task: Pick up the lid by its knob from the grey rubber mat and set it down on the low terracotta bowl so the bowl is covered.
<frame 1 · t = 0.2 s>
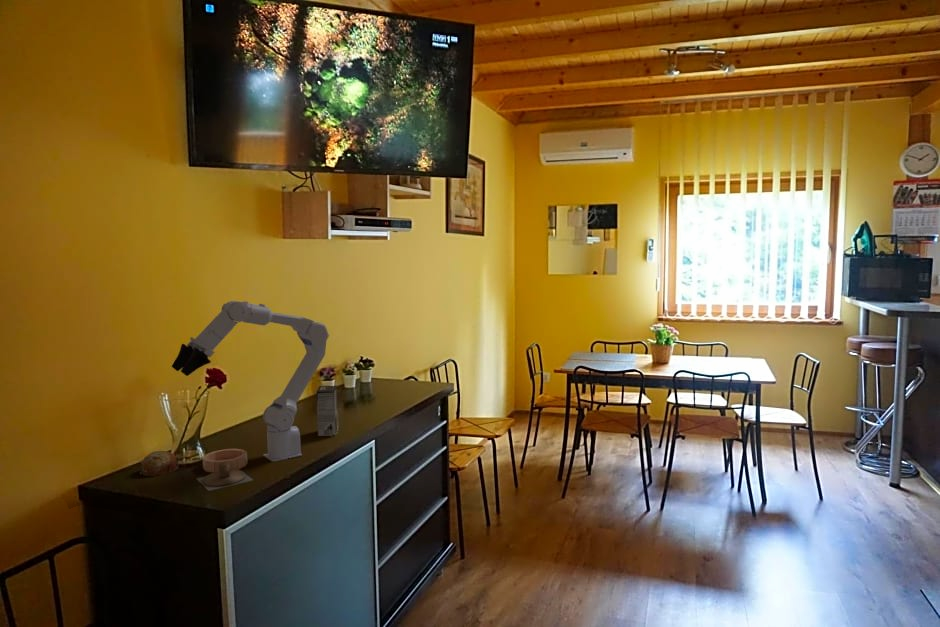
hand: (179, 371, 175), 31 cm above the table, tool tilted 45°, fingers open, 7 cm apart
lid: (224, 479, 175), resting on mat
coffee box: (328, 433, 221), on the table
mat: (224, 480, 175), on the table
bread roll: (160, 472, 184), on the table
bowl: (225, 466, 187), on the table
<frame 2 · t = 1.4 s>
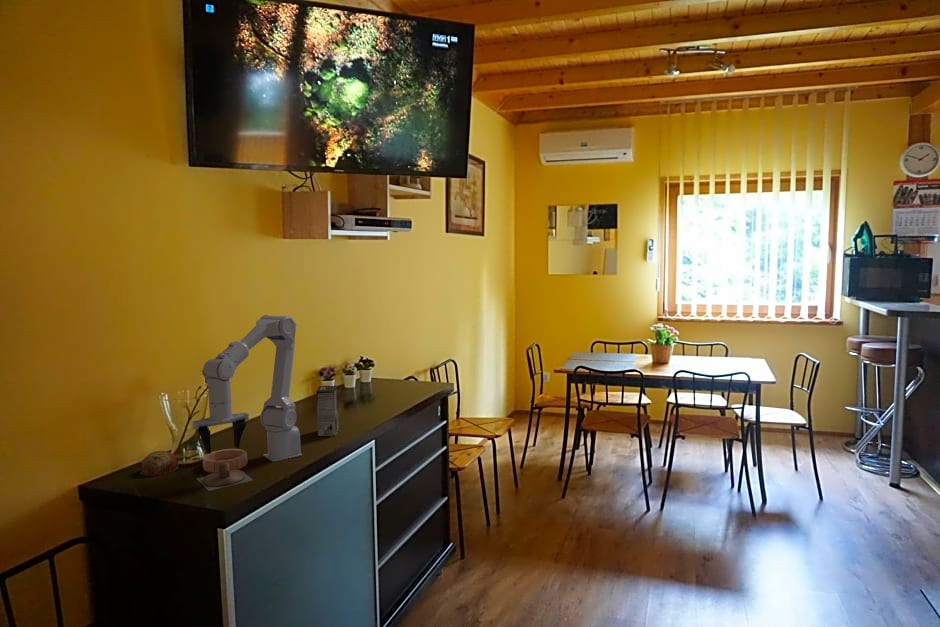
hand: (222, 449, 175), 9 cm above the table, tool pointing down, fingers open, 7 cm apart
nothing on the table moved.
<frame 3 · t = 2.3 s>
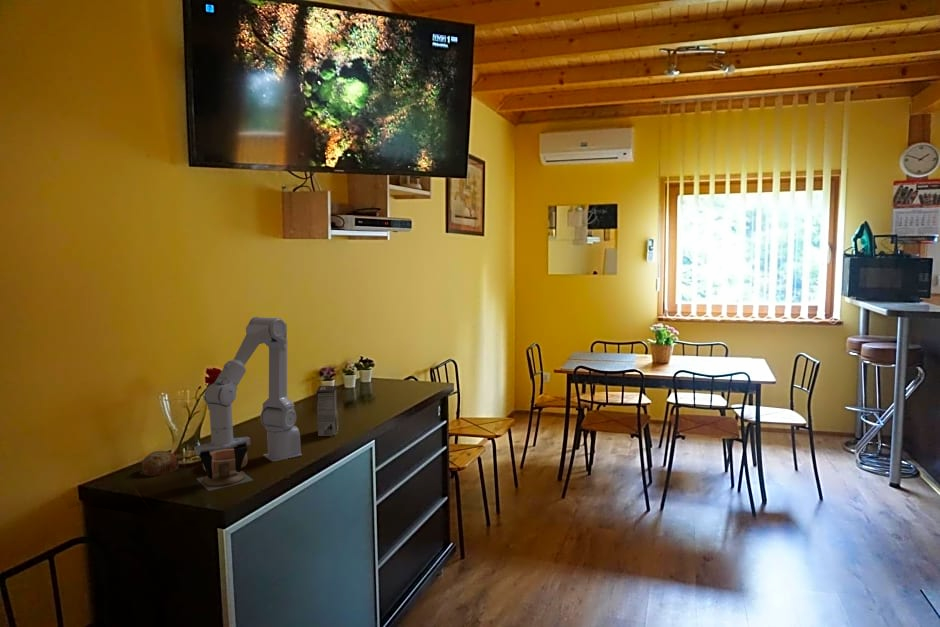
hand: (224, 474, 175), 2 cm above the table, tool pointing down, fingers open, 7 cm apart
nothing on the table moved.
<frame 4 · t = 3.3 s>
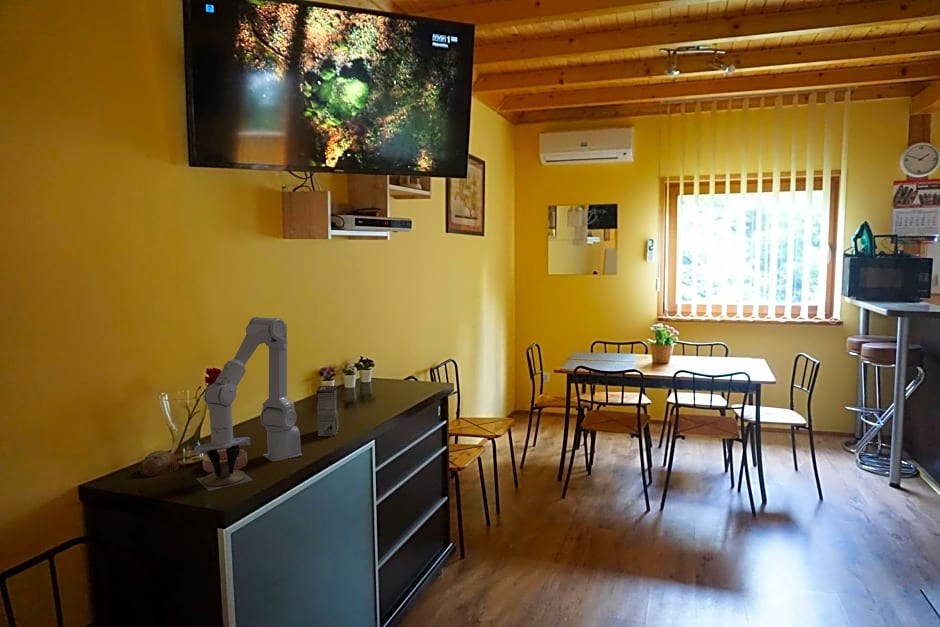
hand: (224, 474, 175), 2 cm above the table, tool pointing down, fingers closed on lid, 3 cm apart
lid: (224, 479, 175), resting on mat, touching gripper
everything else where it was.
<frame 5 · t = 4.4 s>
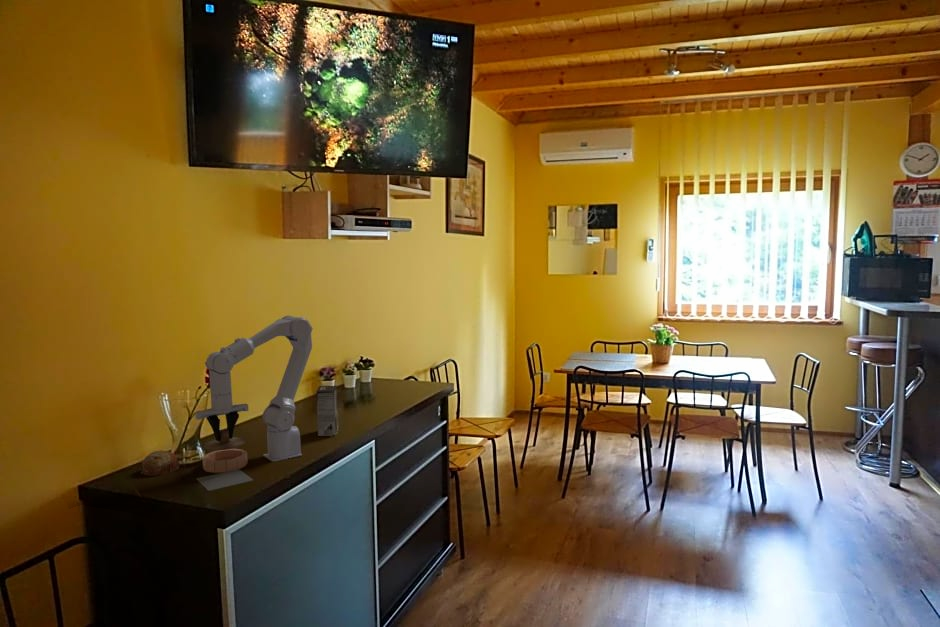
hand: (224, 439, 183), 9 cm above the table, tool pointing down, fingers closed on lid, 3 cm apart
lid: (224, 445, 183), point 8 cm above the table, touching gripper
everything else where it was.
when the fingers open (6 cm above the table, at t = 5.8 s): lid drops 1 cm, resting on bowl.
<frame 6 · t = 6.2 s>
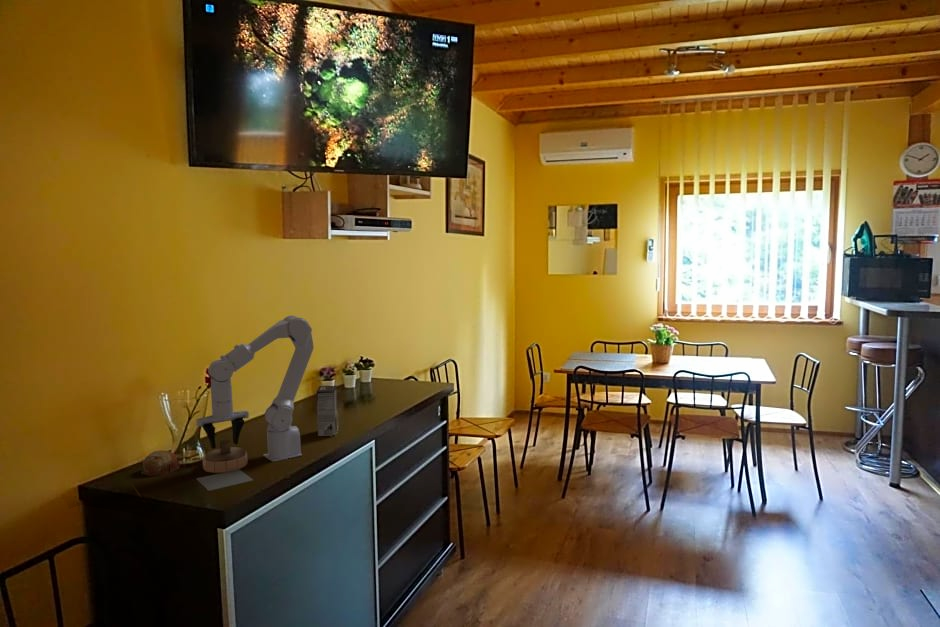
hand: (224, 445, 187), 6 cm above the table, tool pointing down, fingers open, 6 cm apart
lid: (225, 455, 187), point 3 cm above the table, touching bowl
everything else where it was.
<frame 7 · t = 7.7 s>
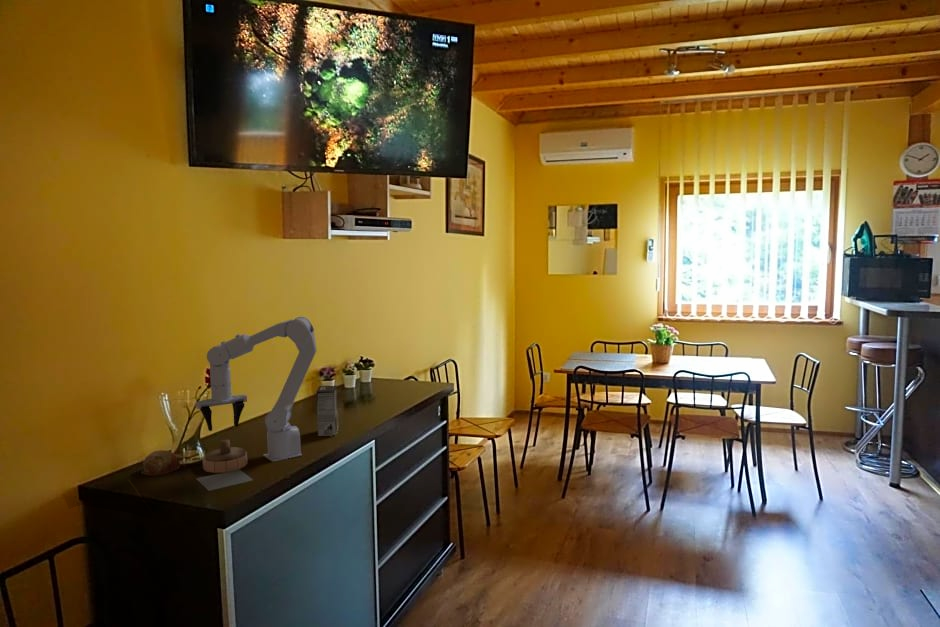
hand: (223, 428, 193), 10 cm above the table, tool pointing down, fingers open, 7 cm apart
nothing on the table moved.
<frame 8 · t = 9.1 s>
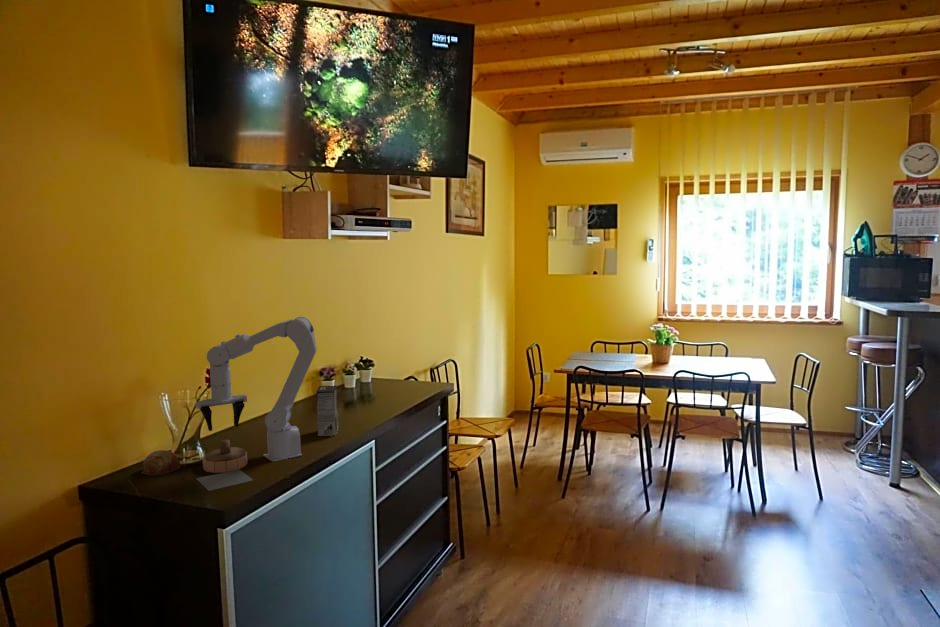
hand: (223, 428, 193), 10 cm above the table, tool pointing down, fingers open, 7 cm apart
nothing on the table moved.
at the end: lid 0.4 cm off-centre on the bowl, point 3.5 cm above the bowl's base; lid tilted 0°; the gripper is holding nothing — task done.
